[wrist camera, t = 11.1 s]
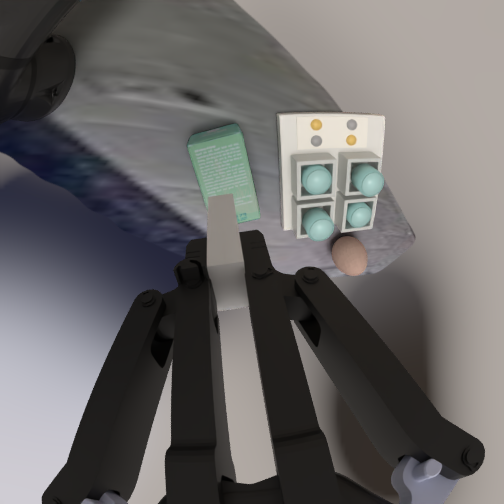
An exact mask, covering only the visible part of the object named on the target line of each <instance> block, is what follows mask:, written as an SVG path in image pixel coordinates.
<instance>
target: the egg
mask: <svg viewBox="0 0 504 504" xmlns="http://www.w3.org/2000/svg"><path fill="white" fill-rule="evenodd" d="M332 259H333V261H334V263H335V265H336V266H337V268H338V269H339V270H340V271H342V272H343V273H345V274H347V275H350V276H356V275H359V274H361V273H362V272H363V271H364V270H365V268H366V266H367V252H366V250H365V247H364V246H363V244H362V243H361V242H360V241H359V240H358V239H356V238H354V237H350V236H344V237H341V238H339V239H338V240H337V241H336V242H335V243H334V245H333V248H332Z"/></svg>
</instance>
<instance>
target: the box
mask: <svg viewBox="0 0 504 504" xmlns="http://www.w3.org/2000/svg"><path fill="white" fill-rule="evenodd" d="M187 148H188V152H189V155H190V158H191V161H192V164H193V167H194V171H195V174H196V177H197V180H198V183H199V186H200V189H201V193H202V196H203V199H204V202H205V205H206V208H207V212H208V197H211V196H218V195H225V194H232V193H233V198H234V204H235V210H236V217H237V223H242V222H247V221H251V220H256V219H259V218H260V209H259V205H258V200H257V196H256V191H255V187H254V182H253V178H252V174H251V169H250V165H249V160H248V156H247V152H246V147H245V143H244V139H243V134H242V132H241V130H240V128H239V126H238V124H236V123H235V124H231V125H227V126H223V127H219V128H216V129H212V130H208V131H205V132H201V133H198V134H194V135H192V136H191V137H190V138H189V140H188V143H187Z"/></svg>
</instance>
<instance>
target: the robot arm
mask: <svg viewBox="0 0 504 504" xmlns="http://www.w3.org/2000/svg"><path fill="white" fill-rule="evenodd" d="M80 1H81V0H0V124H1V123H3V122H5V121H7V120H10V119H11V120H19V121H34V120H37V119H40V118H42V117H45V116H47V115H48V114H50V113H51V112H53V111H54V110H55V109H56V108H57V107H58V106H59V105H60V104H61V103H62V101H63V100H64V98H65V97H66V95H67V93H68V91H69V89H70V87H71V84H72V81H73V77H74V72H75V56H74V52H73V49H72V47H71V45H70V44H69V42H68V41H67V40H66V39H64V38H63V37H61V36H58V35H53V34H51V32H52V31H53V30H54V29H55V28H56V26H57V25H58V24H59V23H60V22H61V20H62V19H63V18H64V17H65V16H66V15H67V13H68V12H69V11H70V10H71V9H72V8H73V7H74V6H75V5H76V4H77V3H78V2H80ZM173 271H174V273H175V276H176V279H177V282H178V287H177V288H176V289H174V290H172V291H170V292H167V293H165V294H161V293H160V292H159V291H158V290H154V289H153V290H146V291H144V292H142V293H140V294H139V295H138V296H137V297H136V299H135V300H134V302H133V304H132V306H131V308H130V310H129V312H128V314H127V316H126V318H125V320H124V322H123V324H122V326H121V328H120V330H119V332H118V334H117V336H116V338H115V341H114V343H113V345H112V347H111V349H110V351H109V353H108V356H107V358H106V360H105V362H104V365H103V367H102V369H101V372H100V374H99V376H98V378H97V381H96V383H95V386H94V388H93V390H92V393H91V396H90V398H89V400H88V403H87V406H86V408H85V411H84V413H83V416H82V419H81V421H80V425H79V427H78V430H77V433H76V436H75V438H74V441H73V444H72V448H71V451H70V454H69V457H68V460H67V463H66V464H65V466H64V467H63V468H62V469H61V471H60V472H59V473H58V474H57V476H56V477H55V478H54V480H53V481H52V482H51V484H50V485H49V487H48V488H47V489H46V490H45V492H44V493H43V496H42V504H128V503H127V501H128V500H129V499H130V497H131V495H132V493H133V491H134V488H135V486H136V483H137V480H138V476H139V472H140V468H141V465H142V460H143V457H144V453H145V449H146V445H147V442H148V438H149V435H150V431H151V427H152V424H153V421H154V417H155V414H156V410H157V407H158V404H159V400H160V397H161V394H162V390H163V387H164V384H165V381H166V378H167V374H168V371H169V368H170V365H171V362H172V359H173V363H172V390H171V445H170V447H169V448H168V450H167V451H166V455H165V477H166V478H165V479H166V495H165V496H164V497H163V498H162V499H161V500H160V502H159V503H158V504H392V503H390V502H389V501H387V500H385V499H383V498H381V497H380V496H378V495H376V494H374V493H372V492H371V491H369V490H368V489H366V488H364V487H362V486H361V485H359V484H358V483H356V482H354V481H353V480H351V479H350V478H348V477H346V476H344V475H342V474H340V473H337V472H335V471H334V467H333V463H332V459H331V455H330V451H329V447H328V443H327V440H326V437H325V435H324V433H323V432H322V430H321V429H320V427H319V424H318V421H317V417H316V413H315V409H314V406H313V402H312V398H311V394H310V390H309V387H308V383H307V379H306V375H305V372H304V368H303V364H302V361H301V357H300V353H299V350H298V346H297V343H296V339H295V336H294V332H293V329H292V325H291V321H290V320H294V322H295V324H296V325H297V327H298V329H299V330H300V331H301V333H302V335H303V336H304V338H305V339H306V341H307V343H308V344H309V346H310V347H311V349H312V350H313V352H314V353H315V355H316V357H317V358H318V360H319V361H320V363H321V364H322V366H323V367H324V369H325V370H326V372H327V374H328V375H329V377H330V378H331V380H332V381H333V383H334V384H335V386H336V388H337V389H338V390H339V392H340V394H341V395H342V397H343V398H344V400H345V401H346V403H347V404H348V406H349V408H350V409H351V411H352V412H353V414H354V415H355V417H356V418H357V420H358V422H359V423H360V425H361V426H362V428H363V429H364V431H365V432H366V434H367V436H368V437H369V439H370V440H371V442H372V443H373V445H374V446H375V448H376V449H377V451H378V452H379V453H380V455H381V456H382V457H383V458H384V459H385V460H386V461H387V462H388V463H389V464H390V465H391V466H392V467H394V468H395V470H394V471H393V473H392V477H391V482H392V485H393V487H394V489H395V490H396V491H397V492H398V494H399V497H400V499H399V504H443V503H444V502H445V500H446V499H447V497H448V496H449V494H450V493H451V491H452V490H453V488H454V486H455V485H456V483H457V482H458V480H459V479H460V478H463V477H466V476H469V475H472V474H474V473H475V472H476V471H477V470H478V469H479V468H480V466H481V465H482V463H483V460H484V457H485V449H484V446H483V444H482V443H481V442H480V441H479V440H478V439H477V438H475V437H473V436H472V435H470V434H468V433H467V432H465V431H464V430H462V429H460V428H459V427H457V426H456V425H454V424H452V423H451V422H449V421H448V420H446V419H445V418H443V417H442V416H441V415H440V414H439V412H438V411H437V410H436V408H435V407H434V406H433V404H432V403H431V402H430V400H429V399H428V398H427V396H426V395H425V394H424V392H423V391H422V390H421V388H420V387H419V386H418V384H417V383H416V382H415V381H414V379H413V378H412V377H411V375H410V374H409V373H408V372H407V370H406V369H405V368H404V367H403V365H402V364H401V363H400V361H399V360H398V359H397V358H396V356H395V355H394V354H393V353H392V352H391V350H390V349H389V348H388V347H387V345H386V344H385V343H384V342H383V340H382V339H381V338H380V337H379V336H378V334H377V333H376V332H375V331H374V330H373V328H372V327H371V326H370V325H369V324H368V323H367V321H366V320H365V319H364V318H363V316H362V315H361V314H360V313H359V312H358V311H357V309H356V308H355V307H354V306H353V305H352V304H351V302H350V301H349V300H348V299H347V298H346V297H345V295H344V294H343V293H342V292H341V291H340V290H339V288H338V287H337V286H336V285H335V284H334V283H333V282H332V280H330V278H329V277H328V276H327V275H326V274H325V272H323V271H322V270H321V269H319V268H316V267H304V268H301V269H299V270H298V271H297V272H296V274H295V275H290V274H283V273H280V272H278V271H277V270H275V268H274V267H273V266H272V263H271V260H270V256H269V253H268V250H267V247H266V243H265V239H264V236H263V234H262V233H261V232H260V231H258V230H252V231H245V232H239V229H238V223H237V217H236V210H235V204H234V198H233V193H232V194H225V195H218V196H211V197H208V219H207V238H201V239H194V240H191V241H190V242H189V244H188V245H187V247H186V256H185V259H184V260H182V261H180V262H179V263H178V264H177V265H176V266H175V267H174V270H173ZM244 307H249V310H250V317H251V323H252V329H253V336H254V341H255V348H256V354H257V360H258V366H259V372H260V378H261V384H262V390H263V396H264V402H265V408H266V414H267V420H268V426H269V431H270V437H271V443H272V449H273V454H274V461H275V466H276V472H277V475H276V476H273V477H271V478H268V479H265V480H263V481H260V482H257V483H254V484H242V483H237V482H236V474H235V469H234V464H233V461H232V457H231V451H230V442H229V432H228V423H227V413H226V404H225V393H224V381H223V369H222V356H221V343H220V329H219V318H218V315H217V309H218V311H222V310H229V309H237V308H244Z"/></svg>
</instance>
